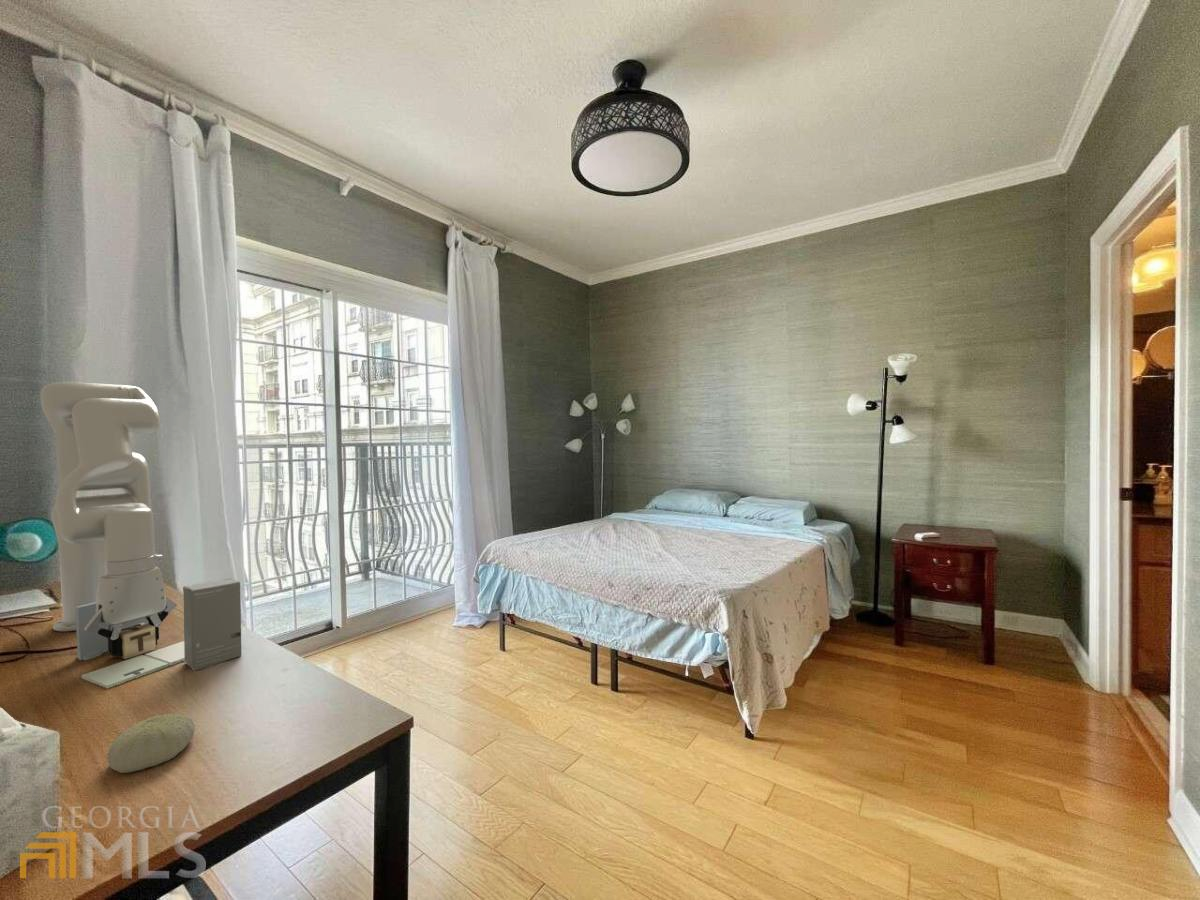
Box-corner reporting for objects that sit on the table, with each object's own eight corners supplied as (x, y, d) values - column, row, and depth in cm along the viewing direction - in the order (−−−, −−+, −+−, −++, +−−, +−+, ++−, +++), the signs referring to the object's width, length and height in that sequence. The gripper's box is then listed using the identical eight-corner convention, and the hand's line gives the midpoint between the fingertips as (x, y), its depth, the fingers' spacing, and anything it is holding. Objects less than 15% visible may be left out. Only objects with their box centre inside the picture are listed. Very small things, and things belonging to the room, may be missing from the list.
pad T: (81, 678, 91) (81, 674, 91) (142, 657, 99) (142, 654, 99) (107, 688, 87) (107, 684, 87) (168, 666, 95) (168, 662, 95)
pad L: (145, 656, 99) (145, 653, 99) (196, 639, 108) (196, 636, 108) (171, 665, 95) (171, 661, 95) (222, 646, 103) (222, 643, 103)
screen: (75, 658, 99) (72, 606, 99) (148, 635, 110) (146, 588, 110) (83, 661, 98) (80, 608, 97) (156, 638, 109) (154, 590, 108)
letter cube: (113, 654, 100) (112, 630, 100) (143, 645, 104) (142, 621, 104) (125, 659, 98) (124, 634, 98) (156, 649, 102) (155, 625, 102)
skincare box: (192, 672, 92) (189, 591, 92) (183, 662, 97) (179, 585, 96) (245, 655, 99) (242, 580, 99) (233, 647, 103) (230, 575, 103)
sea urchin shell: (215, 717, 74) (182, 702, 68) (186, 779, 68) (149, 768, 63) (154, 720, 73) (116, 705, 68) (121, 781, 68) (77, 771, 62)
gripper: (170, 554, 110) (174, 632, 110) (65, 575, 94) (69, 665, 95) (189, 557, 107) (192, 637, 107) (83, 579, 91) (87, 672, 92)
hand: (134, 649), depth 101 cm, fingers closed on letter cube, 5 cm apart
